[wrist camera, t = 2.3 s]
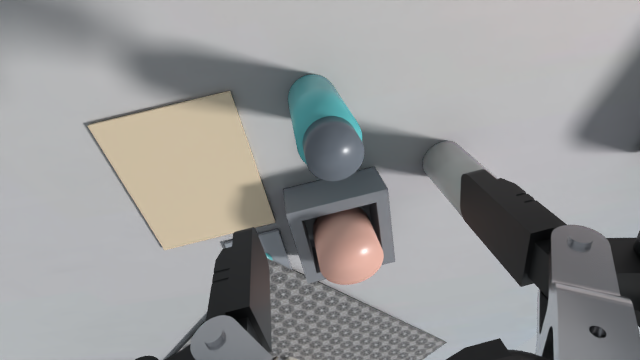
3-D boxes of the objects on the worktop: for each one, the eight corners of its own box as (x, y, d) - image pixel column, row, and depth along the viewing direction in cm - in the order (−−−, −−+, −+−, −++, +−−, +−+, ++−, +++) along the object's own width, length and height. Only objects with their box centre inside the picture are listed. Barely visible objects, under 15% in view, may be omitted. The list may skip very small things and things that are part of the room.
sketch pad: (89, 124, 23) (87, 125, 23) (230, 90, 23) (229, 91, 23) (165, 247, 29) (164, 250, 29) (275, 220, 30) (275, 222, 29)
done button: (306, 212, 27) (313, 246, 24) (365, 198, 27) (380, 229, 24) (318, 255, 30) (325, 291, 27) (372, 242, 30) (386, 275, 27)
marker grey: (421, 146, 28) (483, 211, 20) (462, 136, 28) (540, 197, 20) (422, 181, 30) (479, 253, 22) (461, 172, 30) (531, 240, 22)
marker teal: (282, 80, 23) (292, 131, 16) (331, 69, 24) (365, 114, 16) (294, 127, 25) (308, 193, 18) (340, 116, 25) (373, 176, 18)
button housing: (283, 189, 28) (285, 214, 25) (374, 166, 28) (387, 188, 25) (303, 255, 32) (307, 283, 29) (383, 235, 33) (395, 261, 30)
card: (224, 242, 30) (223, 245, 30) (278, 228, 30) (278, 231, 30) (245, 285, 33) (244, 288, 33) (293, 273, 33) (293, 276, 33)
